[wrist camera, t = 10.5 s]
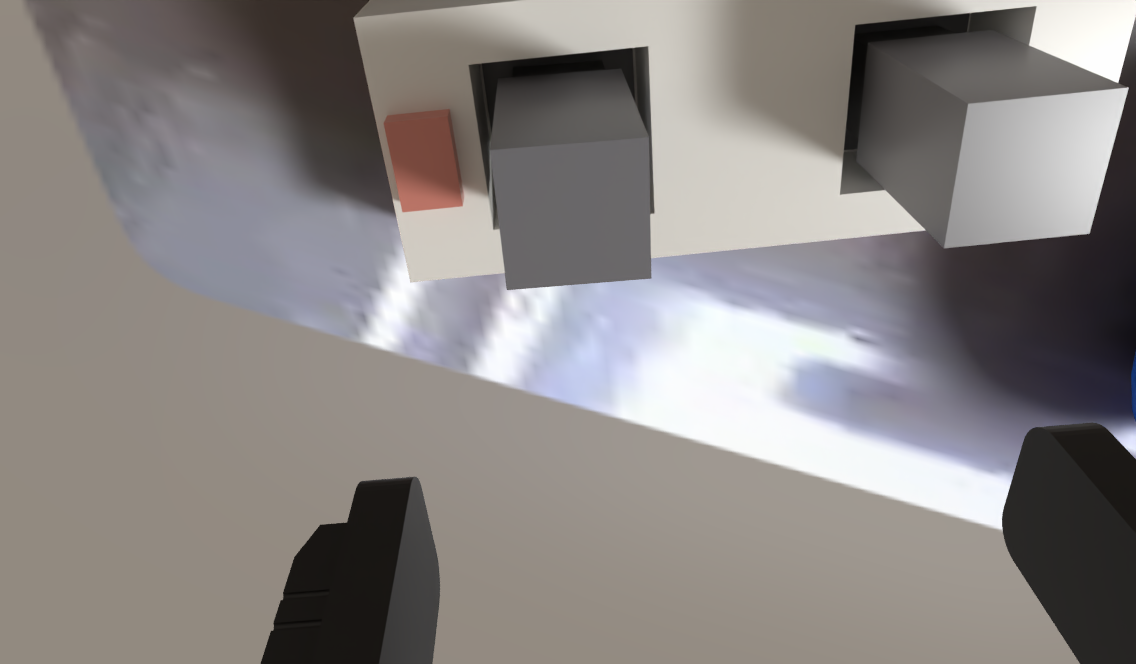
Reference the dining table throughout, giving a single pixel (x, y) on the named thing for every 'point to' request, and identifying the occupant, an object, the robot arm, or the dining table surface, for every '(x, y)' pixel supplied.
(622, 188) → the plug
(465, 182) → the pdu strip
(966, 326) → the dining table surface
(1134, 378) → the blue rounded piece
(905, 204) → the twin plug
